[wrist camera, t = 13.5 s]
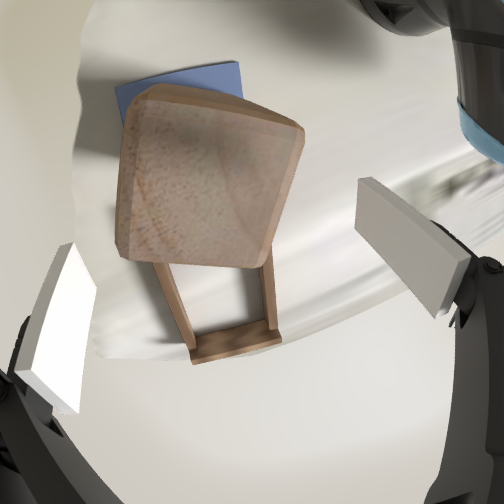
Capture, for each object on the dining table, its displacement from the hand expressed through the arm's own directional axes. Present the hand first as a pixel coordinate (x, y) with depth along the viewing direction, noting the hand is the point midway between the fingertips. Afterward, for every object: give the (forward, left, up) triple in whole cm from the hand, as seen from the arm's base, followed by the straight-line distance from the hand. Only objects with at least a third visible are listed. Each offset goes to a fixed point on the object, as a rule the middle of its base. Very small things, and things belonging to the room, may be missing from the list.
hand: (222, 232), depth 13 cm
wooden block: (0, 0, -24) cm, 24 cm away
